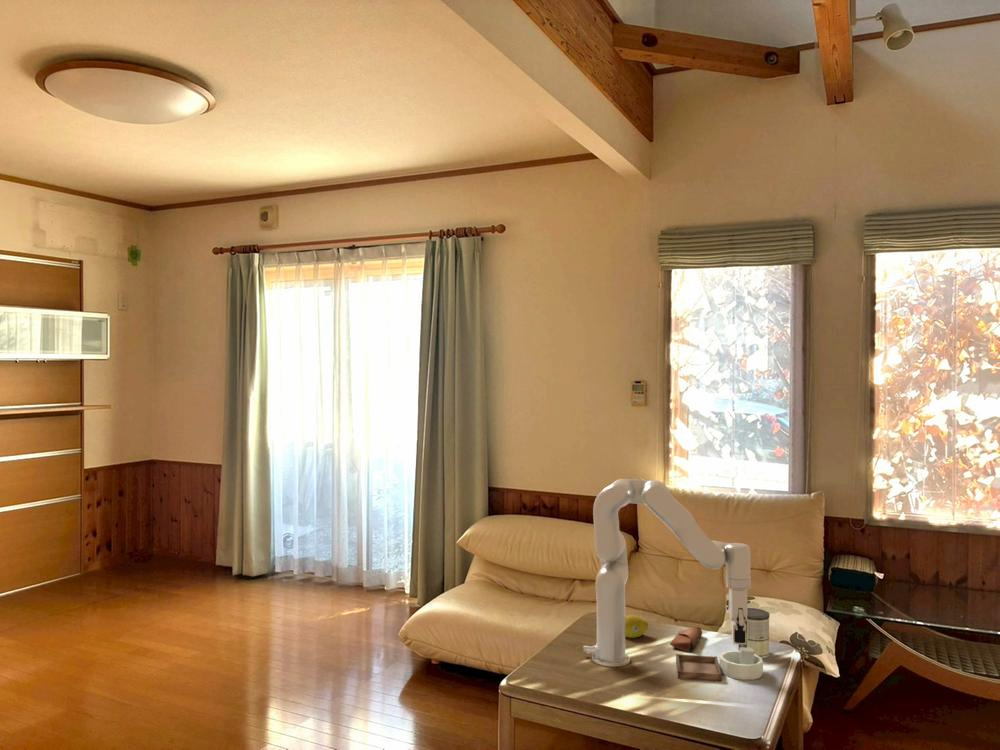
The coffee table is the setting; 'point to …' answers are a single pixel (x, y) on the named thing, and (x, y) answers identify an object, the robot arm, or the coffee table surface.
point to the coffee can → (757, 632)
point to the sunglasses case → (687, 639)
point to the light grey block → (746, 656)
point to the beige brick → (734, 633)
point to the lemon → (635, 626)
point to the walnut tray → (698, 667)
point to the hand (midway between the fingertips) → (739, 639)
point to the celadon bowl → (740, 666)
